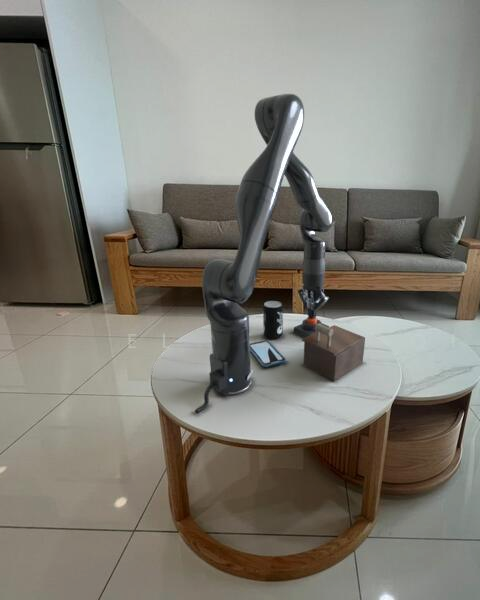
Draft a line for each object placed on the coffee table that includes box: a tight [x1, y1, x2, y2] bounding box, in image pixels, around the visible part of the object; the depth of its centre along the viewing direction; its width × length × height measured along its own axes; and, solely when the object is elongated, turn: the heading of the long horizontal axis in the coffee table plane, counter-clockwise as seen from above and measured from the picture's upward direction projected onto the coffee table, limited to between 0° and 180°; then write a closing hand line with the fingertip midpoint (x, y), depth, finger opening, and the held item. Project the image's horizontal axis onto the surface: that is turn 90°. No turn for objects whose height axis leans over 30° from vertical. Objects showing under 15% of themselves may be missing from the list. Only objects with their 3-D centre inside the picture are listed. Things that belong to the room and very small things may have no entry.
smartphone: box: [250, 339, 287, 368], centre depth 99 cm, size 7×1×15 cm
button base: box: [293, 318, 330, 338], centre depth 114 cm, size 10×8×4 cm
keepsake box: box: [303, 339, 366, 382], centre depth 94 cm, size 14×12×8 cm
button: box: [306, 316, 318, 325], centre depth 114 cm, size 4×4×2 cm
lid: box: [301, 324, 366, 356], centre depth 91 cm, size 14×12×6 cm
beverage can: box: [262, 300, 284, 340], centre depth 109 cm, size 7×7×12 cm
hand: (312, 318), depth 113 cm, fingers closed
